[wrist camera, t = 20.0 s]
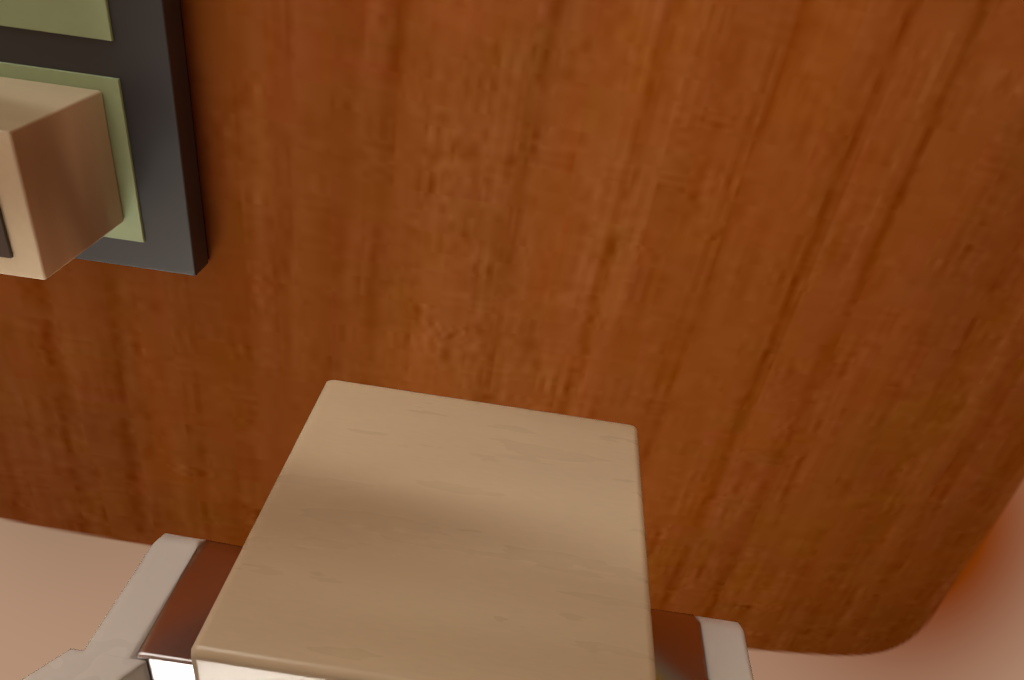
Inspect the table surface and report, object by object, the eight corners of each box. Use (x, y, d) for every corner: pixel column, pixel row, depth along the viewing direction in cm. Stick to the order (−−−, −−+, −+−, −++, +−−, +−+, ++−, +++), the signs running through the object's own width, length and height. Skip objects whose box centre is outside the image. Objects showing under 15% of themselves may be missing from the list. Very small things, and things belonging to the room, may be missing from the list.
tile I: (584, 622, 12) (580, 939, 8) (330, 583, 12) (221, 881, 8) (638, 422, 10) (664, 739, 6) (327, 375, 10) (178, 662, 6)
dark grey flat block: (209, 262, 25) (194, 277, 24) (-27, 228, 25) (-51, 242, 24) (155, -221, 18) (132, -226, 17) (-168, -264, 18) (-209, -271, 18)
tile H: (125, 221, 23) (43, 282, 20) (-3, 203, 24) (-106, 261, 20) (102, 89, 21) (6, 133, 18) (-38, 70, 21) (-160, 109, 18)
